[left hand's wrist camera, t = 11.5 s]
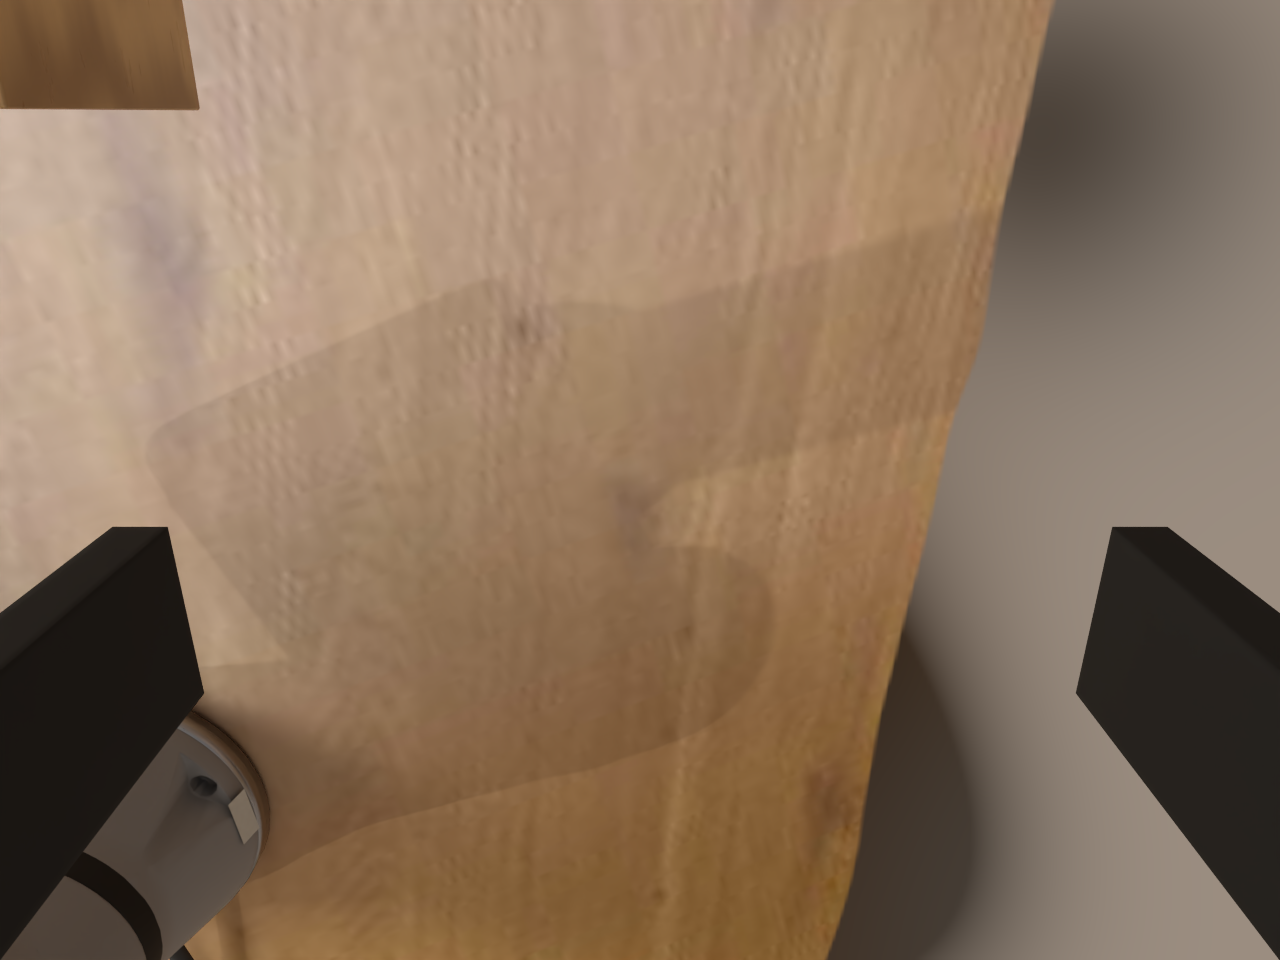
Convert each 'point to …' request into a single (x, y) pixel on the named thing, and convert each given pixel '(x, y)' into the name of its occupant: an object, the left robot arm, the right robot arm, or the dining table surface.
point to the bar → (95, 55)
